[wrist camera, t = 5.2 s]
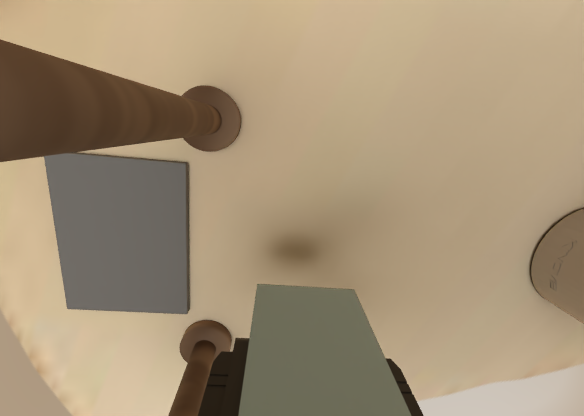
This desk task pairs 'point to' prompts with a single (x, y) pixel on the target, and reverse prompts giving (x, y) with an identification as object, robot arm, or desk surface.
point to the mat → (121, 232)
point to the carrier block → (315, 357)
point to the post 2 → (198, 364)
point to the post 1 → (99, 109)
